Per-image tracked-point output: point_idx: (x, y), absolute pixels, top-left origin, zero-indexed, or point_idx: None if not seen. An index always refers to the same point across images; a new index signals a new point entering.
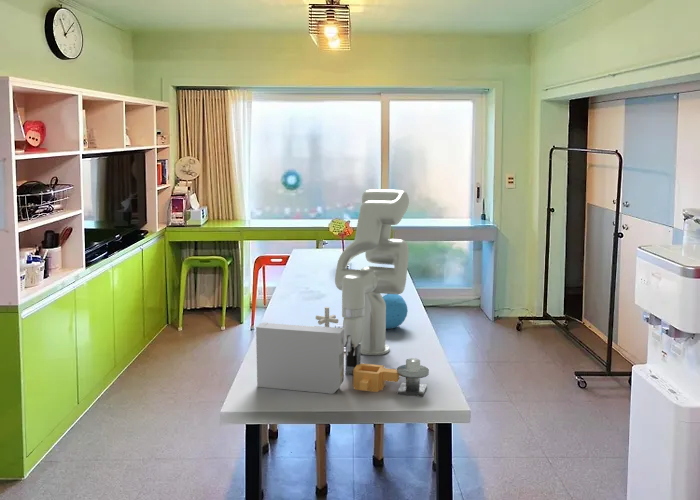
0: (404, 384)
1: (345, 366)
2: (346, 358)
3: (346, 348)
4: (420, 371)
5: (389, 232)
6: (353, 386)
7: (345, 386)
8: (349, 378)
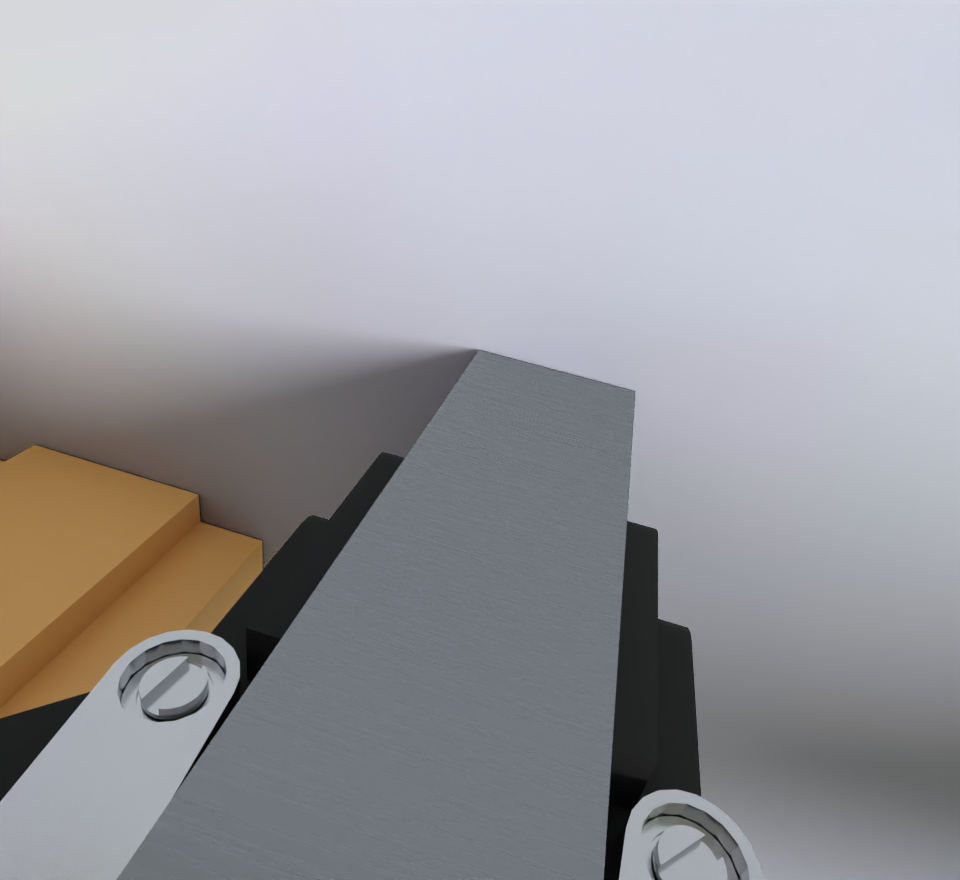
0: None
1: (437, 410)
2: (362, 537)
3: (171, 827)
4: None
5: None
6: (21, 454)
7: (25, 351)
8: (310, 409)
